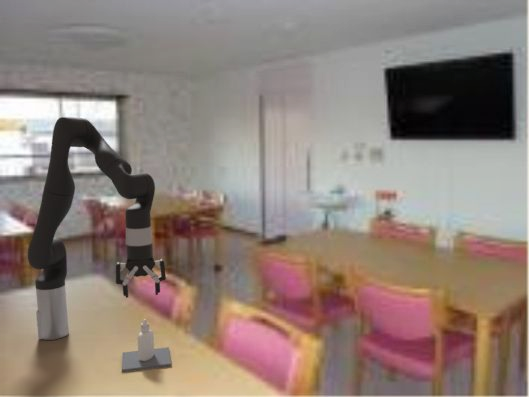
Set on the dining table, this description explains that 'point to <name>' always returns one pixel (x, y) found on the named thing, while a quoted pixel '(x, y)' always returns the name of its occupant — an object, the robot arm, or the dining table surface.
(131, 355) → the slate mat
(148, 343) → the eye dropper bottle
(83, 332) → the dining table surface
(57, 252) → the robot arm
